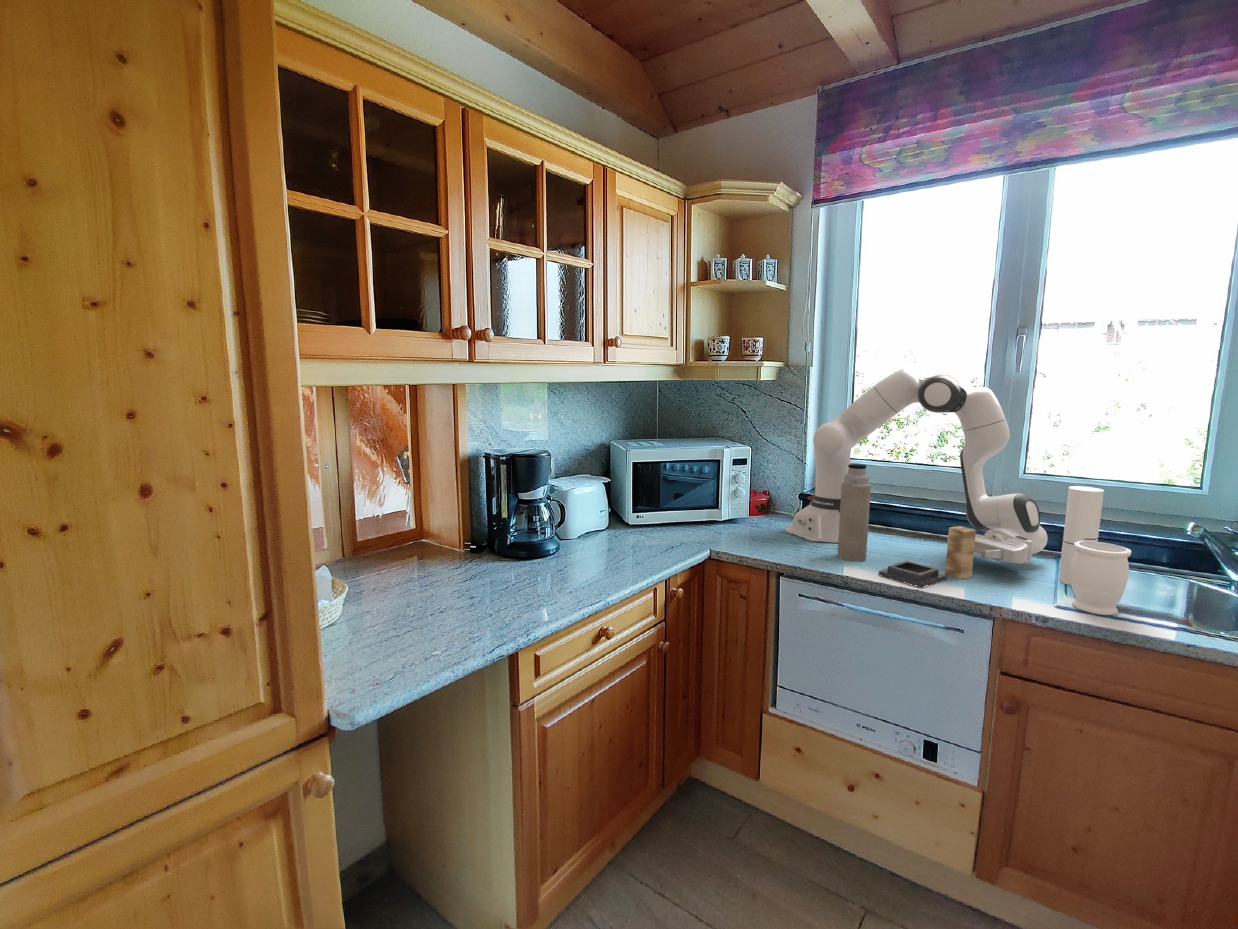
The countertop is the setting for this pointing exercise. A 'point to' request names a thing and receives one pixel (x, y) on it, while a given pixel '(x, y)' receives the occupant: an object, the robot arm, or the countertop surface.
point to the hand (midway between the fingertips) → (967, 549)
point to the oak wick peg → (960, 552)
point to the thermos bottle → (854, 514)
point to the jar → (1099, 576)
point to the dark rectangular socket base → (913, 573)
